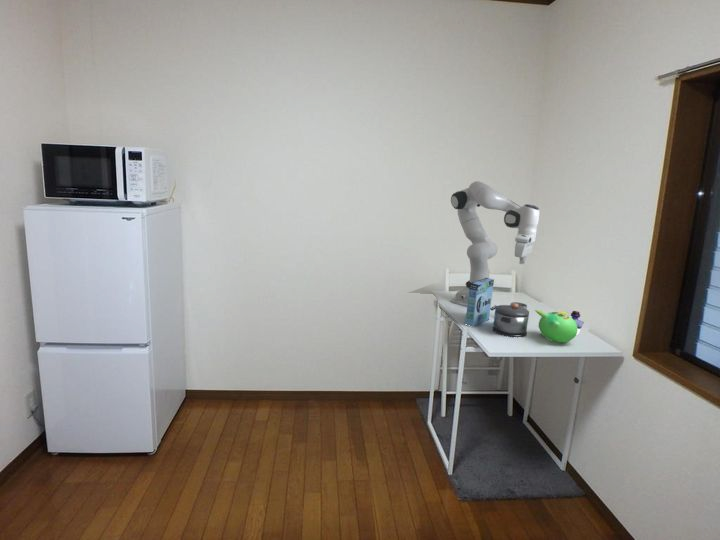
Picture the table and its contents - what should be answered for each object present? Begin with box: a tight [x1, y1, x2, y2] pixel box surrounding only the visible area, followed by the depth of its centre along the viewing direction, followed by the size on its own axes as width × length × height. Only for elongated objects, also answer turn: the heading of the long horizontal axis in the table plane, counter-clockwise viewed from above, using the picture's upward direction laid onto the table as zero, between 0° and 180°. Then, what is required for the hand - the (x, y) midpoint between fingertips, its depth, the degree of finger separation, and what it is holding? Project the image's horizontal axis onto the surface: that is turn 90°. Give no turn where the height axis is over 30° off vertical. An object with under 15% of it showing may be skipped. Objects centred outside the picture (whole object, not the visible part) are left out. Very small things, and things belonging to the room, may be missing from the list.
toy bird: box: [534, 309, 578, 343], centre depth 213 cm, size 18×17×15 cm
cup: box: [509, 301, 528, 310], centre depth 240 cm, size 8×8×10 cm
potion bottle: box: [570, 310, 584, 336], centre depth 225 cm, size 9×9×12 cm
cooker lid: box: [490, 302, 530, 318], centre depth 222 cm, size 18×16×4 cm
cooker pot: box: [492, 311, 530, 338], centre depth 223 cm, size 17×21×10 cm
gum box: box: [464, 277, 495, 327], centre depth 234 cm, size 20×5×23 cm, turn 139°
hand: (521, 263), depth 227 cm, fingers closed
